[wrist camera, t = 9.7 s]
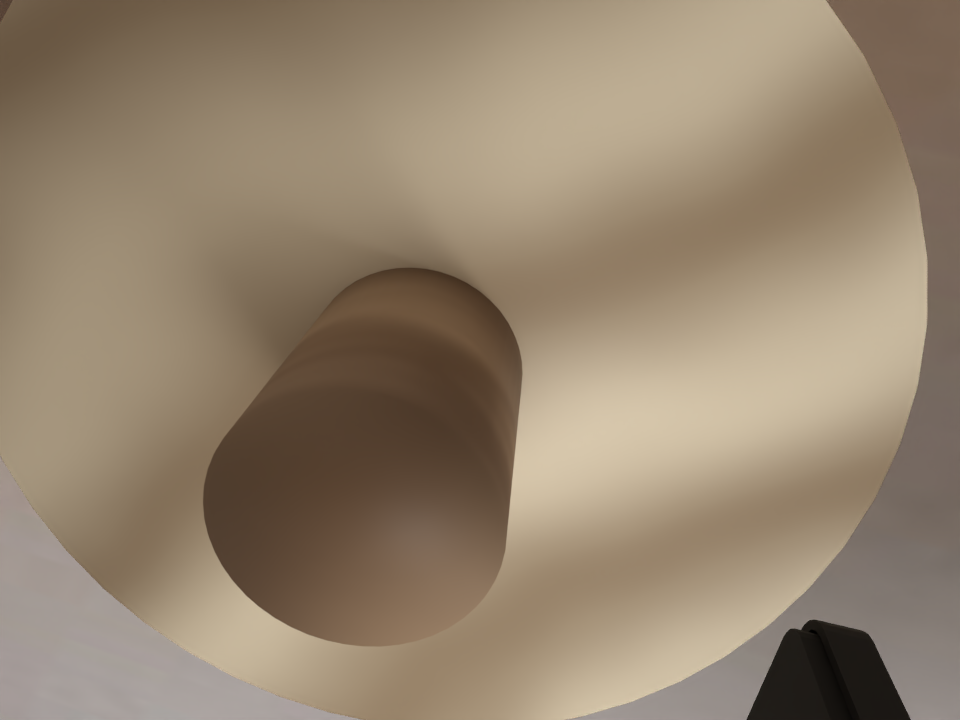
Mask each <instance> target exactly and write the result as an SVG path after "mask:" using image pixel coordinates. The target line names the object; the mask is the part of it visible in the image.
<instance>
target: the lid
mask: <svg viewBox="0 0 960 720" xmlns="http://www.w3.org/2000/svg"><path fill="white" fill-rule="evenodd" d="M926 329H927V253H926V246H925V239H924V232H923V226H922V219H921V212H920V205H919V198H918V192H917V188H916V185H915V182H914V178H913V175H912V172H911V169H910V165H909V162H908V159H907V155H906V152H905V149H904V146H903V142H902V139H901V136H900V133H899V129H898V126H897V123H896V121H895V119H894V117H893V115H892V113H891V111H890V108H889V106H888V104H887V102H886V100H885V98H884V96H883V94H882V92H881V90H880V88H879V86H878V83H877V81H876V79H875V77H874V75H873V73H872V71H871V69H870V67H869V65H868V63H867V61H866V59H865V57H864V55H863V54H862V52H861V51H860V49H859V48H858V46H857V45H856V43H855V42H854V41H853V39H852V38H851V36H850V35H849V33H848V32H847V30H846V29H845V27H844V26H843V24H842V23H841V22H840V20H839V19H838V17H837V16H836V14H835V13H834V11H833V10H832V8H831V7H830V5H829V4H828V2H827V1H826V0H13V1H12V2H11V4H10V6H9V8H8V10H7V12H6V13H5V15H4V17H3V19H2V21H1V23H0V456H1V458H2V460H3V462H4V463H5V465H6V466H7V468H8V470H9V471H10V473H11V474H12V476H13V478H14V479H15V481H16V482H17V484H18V486H19V487H20V489H21V490H22V492H23V493H24V495H25V497H26V498H27V500H28V501H29V503H30V505H31V506H32V508H33V509H34V510H35V512H36V513H37V514H38V515H39V517H40V518H41V519H42V520H43V522H44V523H45V524H46V525H47V527H48V528H49V529H50V530H51V532H52V533H53V534H54V535H55V537H56V538H57V539H58V541H59V542H60V543H61V544H62V546H63V547H64V548H65V549H66V551H67V552H68V553H69V554H70V555H71V556H72V557H73V558H74V559H75V560H76V561H77V562H78V563H79V564H80V565H81V566H82V567H83V568H84V569H85V570H86V571H87V572H88V573H89V574H90V575H91V576H92V577H93V578H94V579H95V580H96V581H97V582H98V583H99V584H100V585H101V586H102V587H103V588H104V589H105V590H106V591H107V592H108V593H110V594H111V595H112V596H113V597H114V598H116V599H117V600H118V601H119V602H120V603H122V604H123V605H124V606H125V607H126V608H128V609H129V610H130V611H131V612H132V613H134V614H135V615H136V616H137V617H138V618H140V619H141V620H142V621H143V622H144V623H146V624H147V625H149V626H150V627H152V628H153V629H155V630H156V631H158V632H159V633H161V634H162V635H164V636H165V637H167V638H168V639H170V640H171V641H172V642H174V643H175V644H177V645H178V646H180V647H181V648H183V649H184V650H186V651H187V652H189V653H191V654H193V655H194V656H196V657H198V658H200V659H202V660H204V661H205V662H207V663H209V664H211V665H213V666H215V667H216V668H218V669H220V670H222V671H224V672H226V673H227V674H229V675H231V676H233V677H235V678H238V679H240V680H242V681H245V682H247V683H249V684H252V685H254V686H256V687H259V688H261V689H263V690H266V691H268V692H270V693H273V694H275V695H278V696H280V697H283V698H286V699H289V700H292V701H295V702H299V703H302V704H305V705H308V706H311V707H314V708H317V709H321V710H324V711H327V712H330V713H335V714H340V715H344V716H349V717H353V718H358V719H363V720H566V719H571V718H577V717H582V716H585V715H589V714H592V713H596V712H599V711H602V710H606V709H609V708H613V707H616V706H619V705H623V704H626V703H630V702H632V701H635V700H637V699H640V698H642V697H644V696H647V695H649V694H652V693H654V692H656V691H659V690H661V689H664V688H666V687H669V686H671V685H673V684H676V683H678V682H680V681H682V680H684V679H686V678H687V677H689V676H691V675H693V674H695V673H696V672H698V671H700V670H702V669H704V668H705V667H707V666H709V665H711V664H713V663H714V662H716V661H718V660H720V659H722V658H723V657H725V656H727V655H728V654H729V653H731V652H732V651H734V650H735V649H736V648H738V647H739V646H741V645H742V644H743V643H745V642H746V641H748V640H749V639H750V638H752V637H753V636H755V635H756V634H757V633H759V632H760V631H762V630H763V629H764V628H766V627H767V626H768V625H770V624H771V623H772V622H773V621H774V620H775V619H776V618H777V617H778V616H779V615H780V614H782V613H783V612H784V611H785V610H786V609H787V608H788V607H789V606H790V605H791V604H792V603H794V602H795V601H796V600H797V599H798V598H799V597H800V596H801V595H802V594H803V593H804V592H805V591H807V590H808V589H809V588H810V586H811V585H812V584H813V583H814V582H815V580H816V579H817V578H818V577H819V576H820V575H821V573H822V572H823V571H824V570H825V569H826V567H827V566H828V565H829V564H830V563H831V562H832V560H833V559H834V558H835V557H836V556H837V554H838V553H839V552H840V551H841V550H842V549H843V547H844V546H845V545H846V543H847V541H848V540H849V538H850V537H851V535H852V534H853V532H854V531H855V529H856V527H857V526H858V524H859V523H860V521H861V520H862V518H863V517H864V515H865V513H866V512H867V510H868V509H869V507H870V506H871V504H872V503H873V501H874V499H875V498H876V496H877V493H878V491H879V489H880V487H881V485H882V483H883V481H884V478H885V476H886V474H887V472H888V470H889V468H890V465H891V463H892V461H893V459H894V457H895V455H896V452H897V450H898V448H899V446H900V443H901V440H902V437H903V434H904V430H905V427H906V424H907V420H908V417H909V414H910V410H911V407H912V404H913V401H914V397H915V394H916V391H917V387H918V382H919V375H920V368H921V362H922V355H923V349H924V342H925V335H926Z"/></svg>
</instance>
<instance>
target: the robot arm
mask: <svg viewBox="0 0 960 720" xmlns="http://www.w3.org/2000/svg"><path fill="white" fill-rule="evenodd" d="M747 720H911V719H910V717H909V715H908V713H907V711H906V709H905V707H904V705H903V703H902V701H901V699H900V696H899V694H898V692H897V690H896V688H895V686H894V684H893V682H892V680H891V678H890V676H889V674H888V671H887V669H886V667H885V665H884V663H883V661H882V659H881V657H880V655H879V653H878V651H877V648H876V646H875V644H874V642H873V640H872V639H871V637H870V636H869V635H868V634H867V633H865V632H864V631H861V630H857V629H853V628H848V627H844V626H840V625H835V624H831V623H827V622H823V621H818V620H809V621H808V622H807V623H806V624H805V625H804V626H803V628H802V630H798V629H790V630H789V631H788V632H786V634H785V636H784V638H783V640H782V642H781V644H780V646H779V648H778V651H777V653H776V655H775V657H774V660H773V662H772V664H771V666H770V669H769V671H768V673H767V675H766V677H765V680H764V682H763V684H762V686H761V689H760V691H759V693H758V695H757V698H756V700H755V702H754V704H753V706H752V709H751V711H750V713H749V715H748V718H747Z"/></svg>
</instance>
